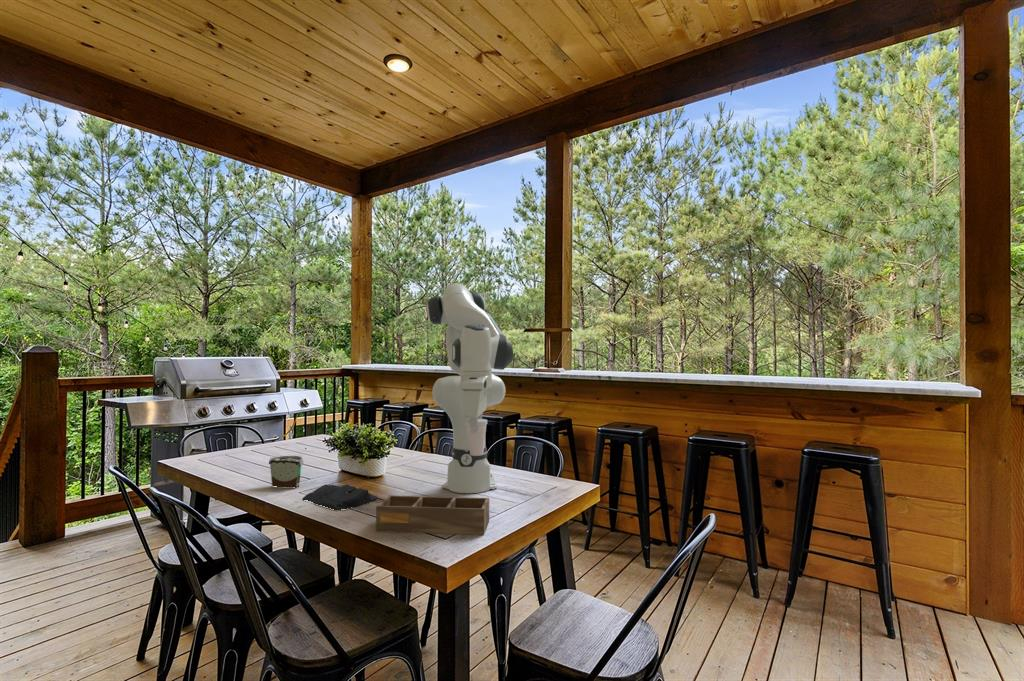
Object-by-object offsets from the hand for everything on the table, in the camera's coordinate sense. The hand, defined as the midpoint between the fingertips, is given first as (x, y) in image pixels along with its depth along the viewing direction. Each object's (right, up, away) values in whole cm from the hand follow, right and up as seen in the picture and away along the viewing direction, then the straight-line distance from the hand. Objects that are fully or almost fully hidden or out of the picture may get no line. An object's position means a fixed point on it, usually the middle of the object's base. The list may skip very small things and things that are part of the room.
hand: (476, 430), depth 141 cm
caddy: (-11, -25, -6) cm, 28 cm away
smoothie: (0, -7, 0) cm, 7 cm away
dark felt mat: (-45, -26, +18) cm, 55 cm away
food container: (-68, -26, +35) cm, 81 cm away
